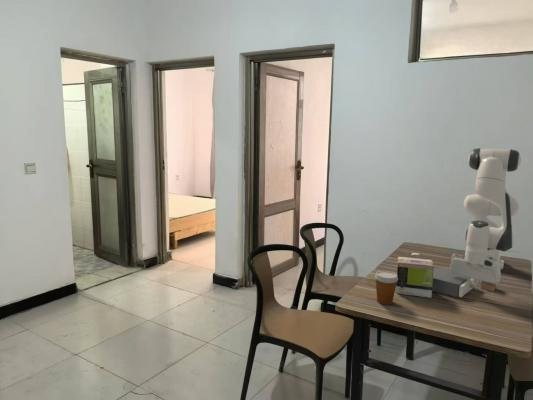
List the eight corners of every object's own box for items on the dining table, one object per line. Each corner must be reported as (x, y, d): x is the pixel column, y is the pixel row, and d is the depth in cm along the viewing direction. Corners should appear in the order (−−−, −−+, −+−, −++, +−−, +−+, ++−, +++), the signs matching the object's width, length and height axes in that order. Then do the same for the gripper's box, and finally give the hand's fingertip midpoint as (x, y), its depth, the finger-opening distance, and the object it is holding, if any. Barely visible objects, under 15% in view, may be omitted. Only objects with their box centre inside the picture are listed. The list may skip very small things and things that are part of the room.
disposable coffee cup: (393, 308, 164) (395, 280, 162) (370, 302, 169) (371, 275, 167) (398, 300, 172) (401, 273, 170) (376, 295, 177) (378, 269, 175)
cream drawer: (441, 278, 197) (441, 269, 197) (473, 287, 187) (474, 276, 186) (427, 287, 185) (428, 277, 184) (461, 297, 175) (462, 286, 174)
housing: (438, 278, 199) (439, 266, 198) (470, 286, 189) (472, 274, 188) (423, 288, 186) (424, 275, 185) (457, 297, 176) (458, 284, 175)
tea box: (430, 290, 183) (433, 259, 181) (431, 298, 174) (434, 266, 172) (395, 285, 188) (398, 255, 186) (395, 293, 179) (397, 261, 176)
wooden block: (484, 285, 191) (485, 275, 190) (495, 288, 187) (497, 278, 186) (480, 288, 187) (482, 278, 186) (492, 291, 184) (494, 280, 183)
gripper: (449, 254, 182) (446, 283, 184) (499, 264, 168) (495, 295, 170) (453, 251, 187) (451, 279, 189) (503, 261, 173) (499, 291, 175)
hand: (472, 287), depth 179 cm, fingers closed
